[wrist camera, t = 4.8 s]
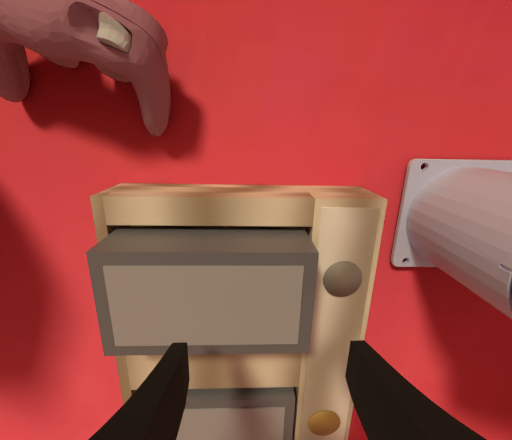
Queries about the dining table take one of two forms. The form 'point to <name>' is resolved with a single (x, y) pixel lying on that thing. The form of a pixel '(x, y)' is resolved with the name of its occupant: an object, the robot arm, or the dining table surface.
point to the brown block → (238, 414)
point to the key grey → (204, 290)
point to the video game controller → (88, 47)
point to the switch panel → (326, 294)
